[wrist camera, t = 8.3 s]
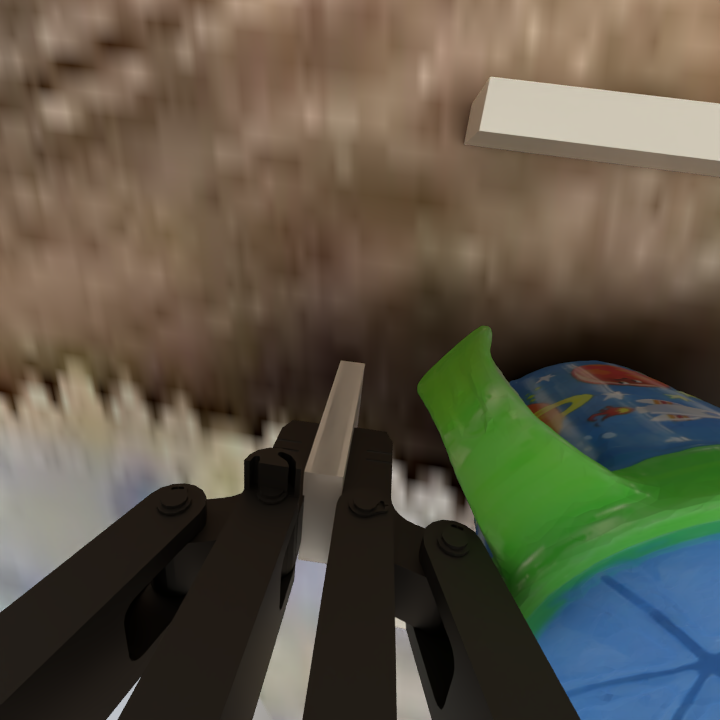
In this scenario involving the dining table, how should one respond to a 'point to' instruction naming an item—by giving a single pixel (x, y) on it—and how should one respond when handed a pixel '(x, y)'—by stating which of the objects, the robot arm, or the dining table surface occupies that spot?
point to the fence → (596, 128)
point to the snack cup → (595, 522)
